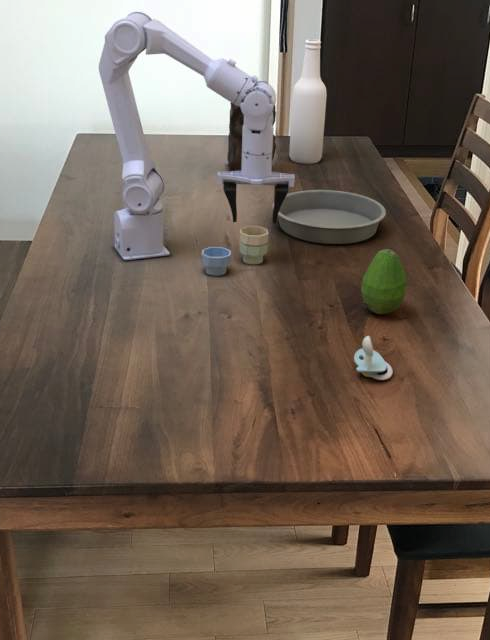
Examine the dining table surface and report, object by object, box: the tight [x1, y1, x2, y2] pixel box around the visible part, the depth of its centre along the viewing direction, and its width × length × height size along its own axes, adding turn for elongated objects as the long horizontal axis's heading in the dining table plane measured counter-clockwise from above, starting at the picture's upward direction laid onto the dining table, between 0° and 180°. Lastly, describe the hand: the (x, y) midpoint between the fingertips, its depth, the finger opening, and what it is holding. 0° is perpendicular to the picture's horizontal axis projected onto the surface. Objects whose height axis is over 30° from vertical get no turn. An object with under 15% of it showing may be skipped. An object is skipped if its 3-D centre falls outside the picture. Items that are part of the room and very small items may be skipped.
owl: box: [227, 102, 277, 172], centre depth 222 cm, size 13×13×20 cm
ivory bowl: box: [239, 225, 269, 246], centre depth 176 cm, size 6×6×4 cm
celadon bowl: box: [238, 241, 269, 265], centre depth 177 cm, size 6×6×4 cm
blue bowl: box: [201, 246, 232, 277], centre depth 172 cm, size 6×6×4 cm
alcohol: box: [288, 38, 328, 165], centre depth 231 cm, size 9×9×30 cm
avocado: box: [360, 248, 408, 315], centre depth 157 cm, size 8×8×12 cm
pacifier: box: [353, 335, 394, 381], centre depth 139 cm, size 7×6×6 cm
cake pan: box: [272, 189, 387, 245], centre depth 195 cm, size 25×25×4 cm
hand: (254, 221), depth 174 cm, fingers open, 7 cm apart
